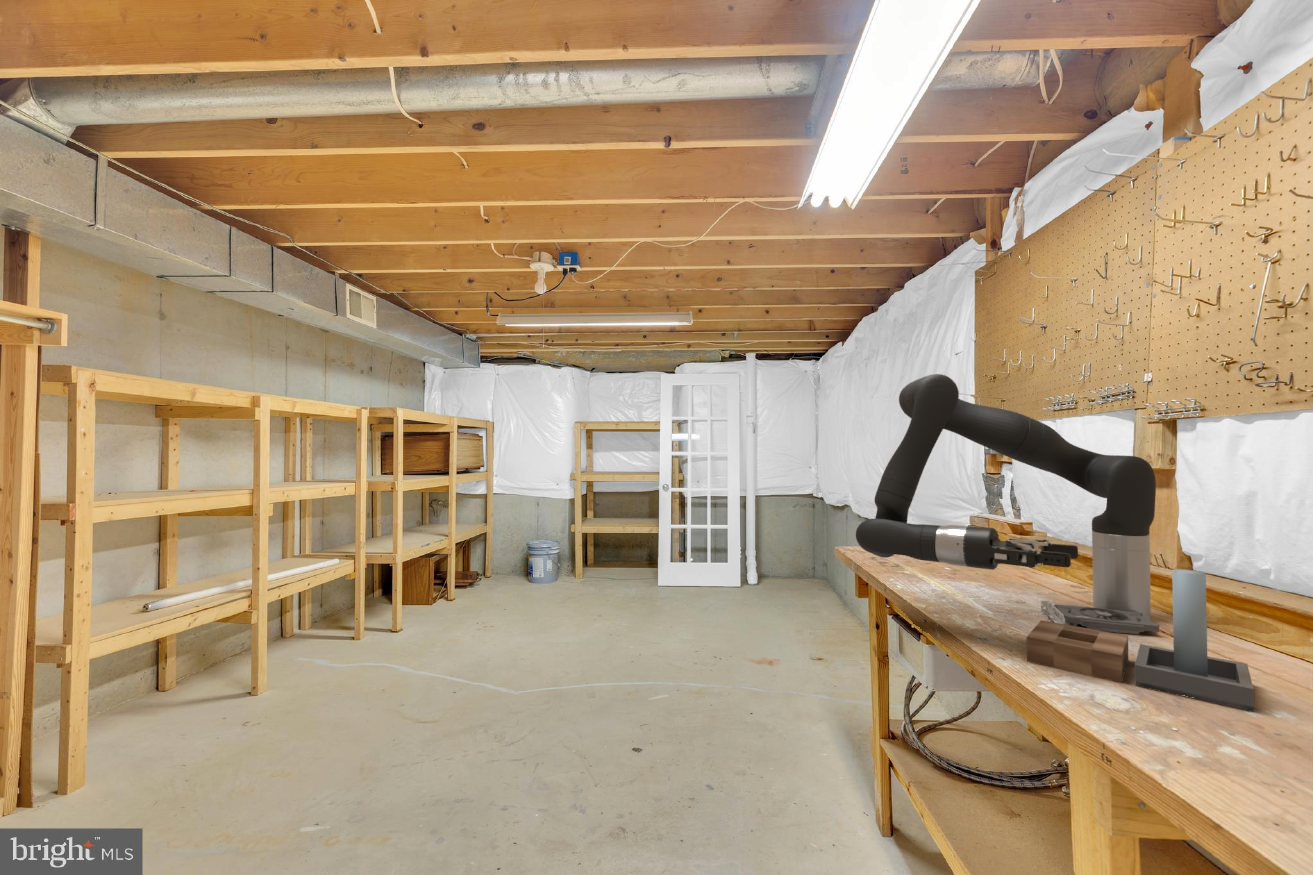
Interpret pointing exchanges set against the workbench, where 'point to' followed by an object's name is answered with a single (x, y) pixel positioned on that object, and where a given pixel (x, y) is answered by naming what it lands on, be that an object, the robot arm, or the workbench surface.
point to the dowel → (1190, 622)
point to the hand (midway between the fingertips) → (1074, 556)
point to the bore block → (1079, 650)
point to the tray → (1196, 678)
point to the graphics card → (1099, 618)
